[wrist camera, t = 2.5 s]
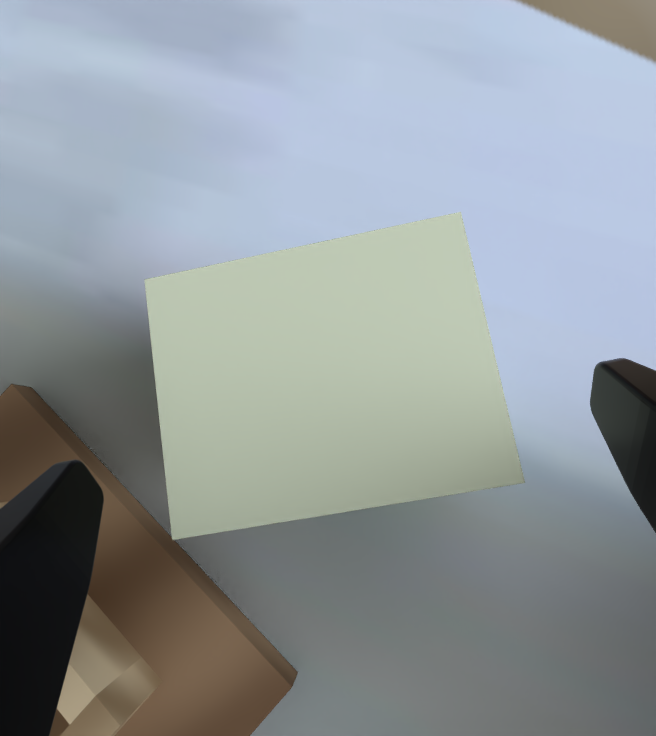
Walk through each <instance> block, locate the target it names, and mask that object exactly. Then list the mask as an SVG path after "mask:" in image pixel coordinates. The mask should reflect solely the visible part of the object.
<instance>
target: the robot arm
mask: <svg viewBox="0 0 656 736" xmlns="http://www.w3.org/2000/svg"><path fill="white" fill-rule="evenodd" d="M590 406H591V411H592V414H593V416H594V418H595V420H596V422H597V425H598V427H599V429H600V431H601V433H602V435H603V437H604V439H605V441H606V443H607V445H608V447H609V449H610V452H611V454H612V456H613V458H614V460H615V462H616V464H617V466H618V468H619V470H620V472H621V474H622V476H623V479H624V481H625V483H626V484H627V486H628V488H629V490H630V492H631V494H632V496H633V497H634V499H635V501H636V502H637V504H638V506H639V507H640V509H641V510H642V512H643V514H644V515H645V517H646V518H647V520H648V522H649V523H650V525H651V526H652V528H653V529H654V531H655V533H656V371H655V370H653V369H650V368H648V367H645V366H643V365H641V364H638V363H636V362H633V361H631V360H628V359H625V358H619V359H614V360H608V361H603V362H600V363H598V364H597V365H596V367H595V369H594V374H593V382H592V390H591V397H590ZM103 504H104V495H103V491H102V489H101V487H100V485H99V484H98V483H97V481H96V480H95V478H94V477H93V475H92V474H91V473H90V471H89V470H88V468H87V467H86V466H85V464H84V463H83V462H81V461H80V460H69V461H64V462H59V463H56V464H54V465H52V466H51V467H50V468H49V469H47V470H46V471H45V472H44V473H43V474H41V475H40V476H39V477H38V478H37V479H35V480H34V481H33V482H32V483H31V484H29V485H28V486H27V487H26V488H25V489H23V490H22V491H21V492H20V493H19V494H17V495H16V496H15V497H14V498H13V499H11V500H10V501H9V502H8V503H7V504H5V505H4V506H3V507H2V508H1V509H0V736H49V735H50V732H51V728H52V724H53V721H54V717H55V713H56V709H57V706H58V702H59V698H60V695H61V691H62V687H63V683H64V680H65V676H66V672H67V669H68V665H69V661H70V657H71V654H72V650H73V646H74V643H75V639H76V635H77V631H78V628H79V624H80V620H81V617H82V613H83V609H84V605H85V602H86V598H87V594H88V590H89V586H90V582H91V577H92V572H93V566H94V560H95V554H96V548H97V541H98V535H99V529H100V523H101V516H102V510H103Z"/></svg>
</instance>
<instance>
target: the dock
mask: <svg viewBox="0 0 656 736" xmlns="http://www.w3.org/2000/svg"><path fill="white" fill-rule="evenodd" d="M69 460H80V461H81V462H83V463H84V464H85V466H86V467H87V468H88V470H89V471H90V473H91V474H92V475H93V477H94V478H95V480H96V481H97V483H98V484H99V485H100V487H101V489H102V491H103V495H104V504H103V510H102V516H101V523H100V529H99V535H98V541H97V548H96V554H95V560H94V566H93V572H92V577H91V582H90V586H89V590H88V594H87V598H86V602H85V605H84V609H83V613H82V617H81V620H80V624H79V628H78V631H77V635H76V639H75V643H74V646H73V650H72V654H71V657H70V661H69V665H68V669H67V672H66V676H65V680H64V683H63V687H62V691H61V695H60V698H59V702H58V706H57V709H56V713H55V717H54V721H53V724H52V728H51V732H50V735H49V736H250V735H251V734H252V732H253V731H254V730H255V729H256V728H257V727H258V726H259V724H260V723H261V722H262V721H263V720H264V719H265V718H266V716H267V715H268V714H269V713H270V712H271V711H272V710H273V708H274V707H275V706H276V705H277V704H278V703H279V701H280V700H281V699H282V698H283V697H284V696H285V695H286V693H287V692H288V691H289V690H290V689H291V688H292V686H293V683H294V681H295V678H296V676H297V674H298V672H297V671H296V670H295V669H294V668H293V667H292V666H291V665H290V663H289V662H288V661H287V660H286V659H285V658H284V657H283V656H282V655H281V654H280V653H279V652H278V651H277V650H276V649H275V647H274V646H273V645H272V644H271V643H270V642H269V641H268V640H267V639H266V638H265V637H264V636H263V635H262V634H261V632H260V631H259V630H258V629H257V628H256V627H255V626H254V625H253V624H252V623H251V622H250V621H249V620H248V619H247V618H246V616H245V615H244V614H243V613H242V612H241V611H240V610H239V609H238V608H237V607H236V606H235V605H234V604H233V603H232V601H231V600H230V599H229V598H228V597H227V596H226V595H225V594H224V593H223V592H222V591H221V590H220V589H219V588H218V587H217V585H216V584H215V583H214V582H213V581H212V580H211V579H210V578H209V577H208V576H207V575H206V574H205V573H204V572H203V570H202V569H201V568H200V567H199V566H198V565H197V564H196V563H195V562H194V561H193V560H192V559H191V558H190V557H189V556H188V554H187V553H186V552H185V551H184V550H183V549H182V548H181V547H180V546H179V545H178V544H177V543H176V542H175V541H174V540H172V537H171V536H170V535H169V534H168V533H167V532H166V531H165V530H164V529H163V528H162V527H161V526H160V525H159V523H158V522H157V521H156V520H155V519H154V518H153V517H152V516H151V515H150V514H149V513H148V512H147V511H146V510H145V508H144V507H143V506H142V505H141V504H140V503H139V502H138V501H137V500H136V499H135V498H134V497H133V496H132V495H131V494H130V492H129V491H128V490H127V489H126V488H125V487H124V486H123V485H122V484H121V483H120V482H119V481H118V480H117V479H116V477H115V476H114V475H113V474H112V473H111V472H110V471H109V470H108V469H107V468H106V467H105V466H104V465H103V464H102V463H101V461H100V460H99V459H98V458H97V457H96V456H95V455H94V454H93V453H92V452H91V451H90V450H89V449H88V448H87V446H86V445H85V444H84V443H83V442H82V441H81V440H80V439H79V438H78V437H77V436H76V435H75V434H74V433H73V432H72V430H71V429H70V428H69V427H68V426H67V425H66V424H65V423H64V422H63V421H62V420H61V419H60V418H59V417H58V415H57V414H56V413H55V412H54V411H53V410H52V409H51V408H50V407H49V406H48V405H47V404H46V403H45V402H44V401H43V399H42V398H41V397H40V396H39V395H38V394H37V393H36V392H35V391H34V390H33V389H32V388H31V387H26V386H20V385H14V384H11V385H10V386H9V387H8V388H7V389H6V390H5V392H4V393H3V394H2V395H1V396H0V509H1V508H2V507H3V506H4V505H5V504H7V503H8V502H9V501H10V500H11V499H13V498H14V497H15V496H16V495H17V494H19V493H20V492H21V491H22V490H23V489H25V488H26V487H27V486H28V485H29V484H31V483H32V482H33V481H34V480H35V479H37V478H38V477H39V476H40V475H41V474H43V473H44V472H45V471H46V470H47V469H49V468H50V467H51V466H52V465H54V464H56V463H59V462H64V461H69Z"/></svg>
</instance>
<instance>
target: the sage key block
mask: <svg viewBox="0 0 656 736" xmlns="http://www.w3.org/2000/svg"><path fill="white" fill-rule="evenodd" d="M145 289H146V299H147V308H148V317H149V327H150V336H151V346H152V355H153V364H154V374H155V383H156V393H157V402H158V412H159V421H160V430H161V440H162V449H163V459H164V468H165V477H166V487H167V496H168V506H169V515H170V524H171V534H172V540H176V539H182V538H188V537H194V536H200V535H206V534H213V533H219V532H225V531H231V530H237V529H243V528H250V527H256V526H262V525H268V524H274V523H280V522H286V521H293V520H299V519H305V518H311V517H317V516H323V515H330V514H336V513H342V512H348V511H354V510H360V509H367V508H373V507H379V506H385V505H391V504H397V503H404V502H410V501H416V500H422V499H428V498H434V497H440V496H447V495H453V494H459V493H465V492H471V491H477V490H484V489H490V488H496V487H502V486H508V485H514V484H521V483H525V481H524V477H523V473H522V468H521V464H520V460H519V456H518V452H517V447H516V443H515V439H514V435H513V430H512V426H511V422H510V418H509V414H508V409H507V405H506V401H505V397H504V392H503V388H502V384H501V380H500V376H499V371H498V367H497V363H496V359H495V355H494V350H493V346H492V342H491V338H490V333H489V329H488V325H487V321H486V317H485V312H484V308H483V304H482V300H481V296H480V291H479V287H478V283H477V279H476V274H475V270H474V266H473V262H472V258H471V253H470V249H469V245H468V241H467V236H466V232H465V228H464V224H463V220H462V215H461V212H458V213H454V214H449V215H444V216H440V217H435V218H430V219H426V220H421V221H416V222H412V223H407V224H402V225H398V226H393V227H388V228H384V229H379V230H374V231H369V232H365V233H360V234H355V235H351V236H346V237H341V238H337V239H332V240H327V241H323V242H318V243H313V244H309V245H304V246H299V247H295V248H290V249H285V250H280V251H276V252H271V253H266V254H262V255H257V256H252V257H248V258H243V259H238V260H234V261H229V262H224V263H220V264H215V265H210V266H206V267H201V268H196V269H191V270H187V271H182V272H177V273H173V274H168V275H163V276H159V277H154V278H149V279H145Z"/></svg>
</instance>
